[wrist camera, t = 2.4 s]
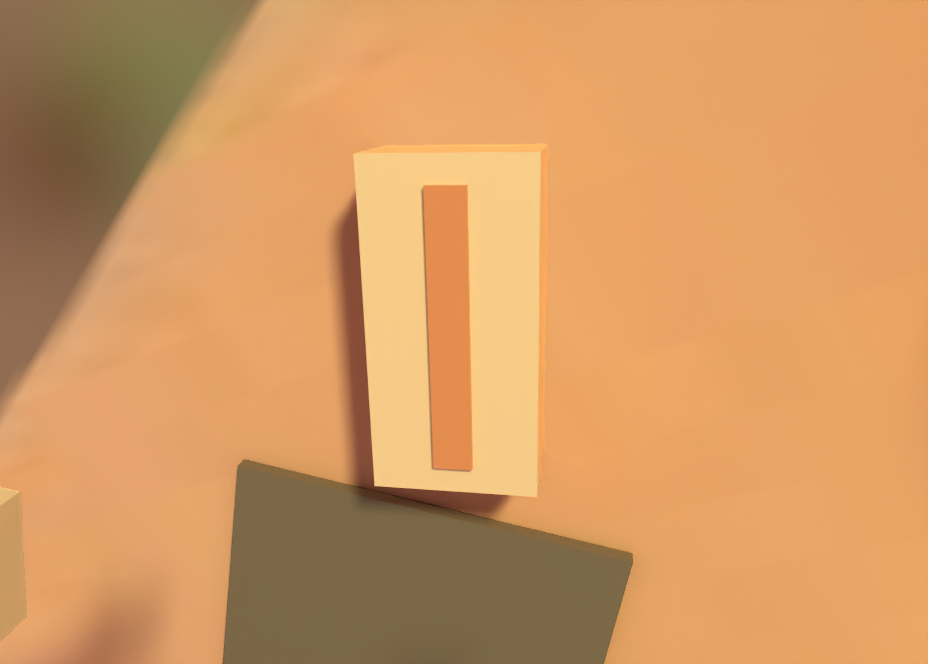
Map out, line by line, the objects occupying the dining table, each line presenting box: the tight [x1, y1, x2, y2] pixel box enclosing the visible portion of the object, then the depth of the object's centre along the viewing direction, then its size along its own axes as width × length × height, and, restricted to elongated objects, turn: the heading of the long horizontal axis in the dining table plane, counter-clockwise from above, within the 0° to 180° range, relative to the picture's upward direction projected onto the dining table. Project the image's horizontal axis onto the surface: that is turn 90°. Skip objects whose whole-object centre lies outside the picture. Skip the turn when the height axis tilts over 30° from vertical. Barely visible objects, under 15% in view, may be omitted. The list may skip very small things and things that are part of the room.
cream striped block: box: [354, 144, 548, 497], centre depth 27 cm, size 12×6×4 cm, turn 1°
